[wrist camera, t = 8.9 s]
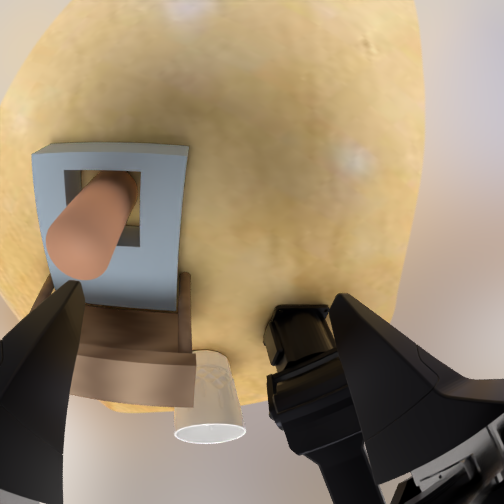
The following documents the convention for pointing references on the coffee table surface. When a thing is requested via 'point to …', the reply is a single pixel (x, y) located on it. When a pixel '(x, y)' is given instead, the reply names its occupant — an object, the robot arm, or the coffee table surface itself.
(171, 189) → the socket block
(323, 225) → the coffee table surface
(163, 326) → the brown wooden table shape
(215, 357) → the white cup
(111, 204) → the peg
